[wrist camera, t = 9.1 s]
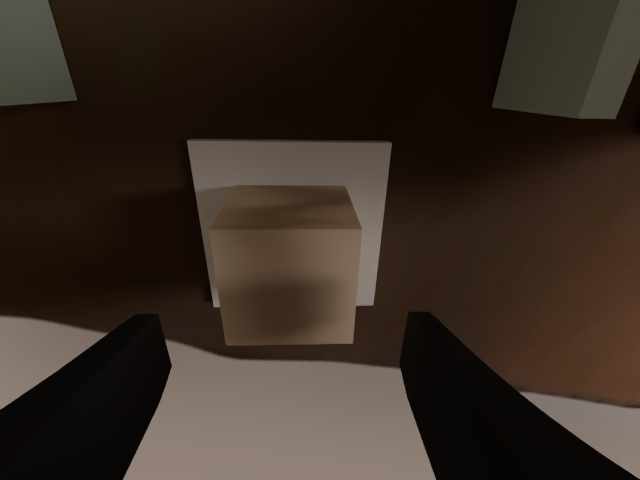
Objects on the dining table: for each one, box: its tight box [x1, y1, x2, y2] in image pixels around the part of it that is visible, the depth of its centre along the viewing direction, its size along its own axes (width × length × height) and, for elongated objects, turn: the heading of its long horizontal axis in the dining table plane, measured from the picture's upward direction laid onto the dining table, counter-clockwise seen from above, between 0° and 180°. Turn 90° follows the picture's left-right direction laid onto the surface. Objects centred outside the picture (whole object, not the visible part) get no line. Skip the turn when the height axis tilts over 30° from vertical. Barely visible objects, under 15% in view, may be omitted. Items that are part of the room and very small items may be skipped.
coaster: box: [187, 139, 392, 307], centre depth 16 cm, size 9×9×1 cm
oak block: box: [208, 185, 362, 346], centre depth 14 cm, size 5×5×5 cm
